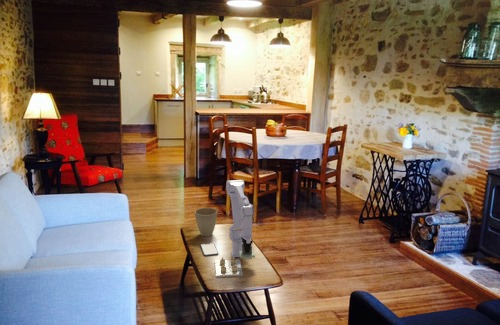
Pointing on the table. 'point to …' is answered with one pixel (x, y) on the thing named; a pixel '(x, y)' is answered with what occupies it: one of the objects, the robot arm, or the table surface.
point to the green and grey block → (246, 255)
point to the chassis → (228, 268)
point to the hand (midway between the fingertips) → (246, 250)
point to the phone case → (209, 249)
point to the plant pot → (206, 220)
